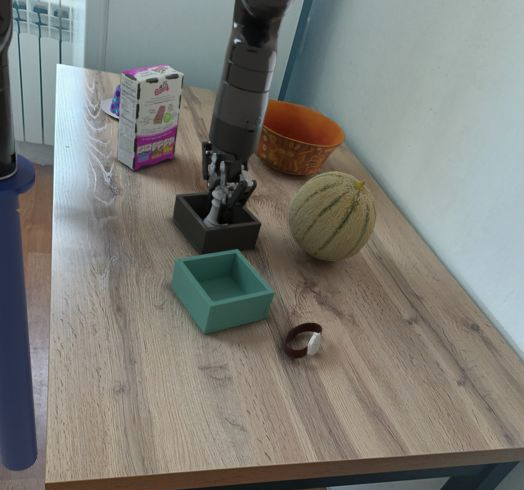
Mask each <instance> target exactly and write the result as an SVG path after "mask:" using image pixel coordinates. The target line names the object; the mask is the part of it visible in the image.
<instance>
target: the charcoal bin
mask: <svg viewBox="0 0 524 490" xmlns="http://www.w3.org/2000/svg"><path fill="white" fill-rule="evenodd" d="M230 194H231V195H232V191H231V193H230ZM207 195H208V191H201V192H200V191H199V192H190V193H189V192H188V193H179V194H175V200H174V207H173V213H172V220H171V221H172V223H173V224H174V225H175V227H176V228H177V229H178V231H180V233H181V235H183V236H184V238H185V240H187V242H188V243H189V244H190V245H191V247H192V248H193V249H194V251H195V252H196V253H197V254H198V255H204V254H211V253H217V252H223V251H230V250H236V249H238V250H239V251H240V252H243V251H248V250H250V251H251V250H254V249H256V245H257V242H258V239H259V236H260V232H261V228H262V222H261V221H260V220H259V219H258V218H257V216H255V215H254V213H253V212H252V211H251V210H250V209H249V208H248V207H247V206H246V204H245V205H244V206H243V207H234V209H233V213H232V217H231V221H230V222H229V223H228V225H224V226H216V227H209V228H208V227H207V226H206V224H205V223H204V222H203V221H204V219H205V218H206V217H207V216H208V215H209V213H210V212H209V211H207V209H206V201H207Z"/></svg>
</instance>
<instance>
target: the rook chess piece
mask: <svg viewBox="0 0 524 490" xmlns="http://www.w3.org/2000/svg"><path fill="white" fill-rule="evenodd" d="M230 193H231V191H230V192H229V193H228V197H231V194H230ZM212 195H213V197H214V199H213V200H212V208H211V211H210V213H209V215H208V216H207V217H206V218H205V219H204V221H203V222H204V223H205V224H206V226H207V227H208V228H209V227H216V226H224V225H228V224H219V223H218V222H217V216H218V211H219V206H220V203H221V197H222V190H221V189H220V186H217V188H215V190H214V191H213V192H212Z"/></svg>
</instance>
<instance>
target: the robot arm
mask: <svg viewBox="0 0 524 490" xmlns="http://www.w3.org/2000/svg"><path fill="white" fill-rule="evenodd" d="M294 4H295V0H234V4H233V13H232V21H231V22H232V23H231V30H230V34H229V39H228V41H227V46H226V48H225V54H224V58H223V64H222V70H221V74H220V80H219V84H218V86H217V89H216V93H215V98H214V104H213V108H212V109H213V110H212V114H211V115H212V116H211V121H210V127H209V131H208V140H209V141H208V140H207V141H202V142H201V166H202V167H201V169H202V172H201V173H202V180H203V181H206V188H207V190H208V191H207V192H208V195H207V201H206V209H207V211H209V212H210V211H211V208H212V200H213V199H214V197H213V195H212V192H213V191H214V190H215V188H217V186H220V189H221V190H222V197H221V203H220V206H219V211H218V216H217V222H218V223H219V224H228V223H229V222H230V221H231V217H232V213H233V209H234V207H243V206H244V205H245V206H246V203H247V202H248V201H249V199H250V197H251V196H252V195H253V193H254V192H255V190H256V188H257V187H258V182H257V181H258V180H256V179H251V177H250V175H249V170H250V163H249V162H250V158H251V157H252V155H254V154H255V152H256V150H257V148H258V144H259V140H260V136H261V132H262V128H263V124H264V120H265V116H266V112H267V107H268V101H269V100H270V99H269V98H270V92H271V87H272V83H273V79H274V76H275V71H276V67H277V61H278V55H279V43H278V42H279V37H280V33H281V29H282V25H283V20H284V17H285V16H287V14H288V13H289V12H290V10H291V9H292V8H293V5H294ZM13 9H14V8H13V0H0V182H1V181H5V180H8V179H10V178H12V177H14V176H15V175H16V173H17V171H18V168H17V154H18V149H17V146H16V138H15V125H14V111H13V99H12V84H11V83H12V82H11V73H10V56H9V51H10V48H11V44H12V40H13V35H14V14H13V13H14V10H13ZM227 183H234V184H227ZM230 191H232V195H231V197H228V193H229V192H230Z"/></svg>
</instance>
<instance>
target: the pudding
mask: <svg viewBox="0 0 524 490" xmlns="http://www.w3.org/2000/svg"><path fill="white" fill-rule="evenodd" d="M119 107H120V84H117V86H116V88H115V91H114V94H113V97H108V98H105V99H103V100H102V101H101V102H100V108H101V110H102V111H103V112H104V113H106V114H107V115H109V116H111V117H112V118H115V119H118V120H119Z"/></svg>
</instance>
